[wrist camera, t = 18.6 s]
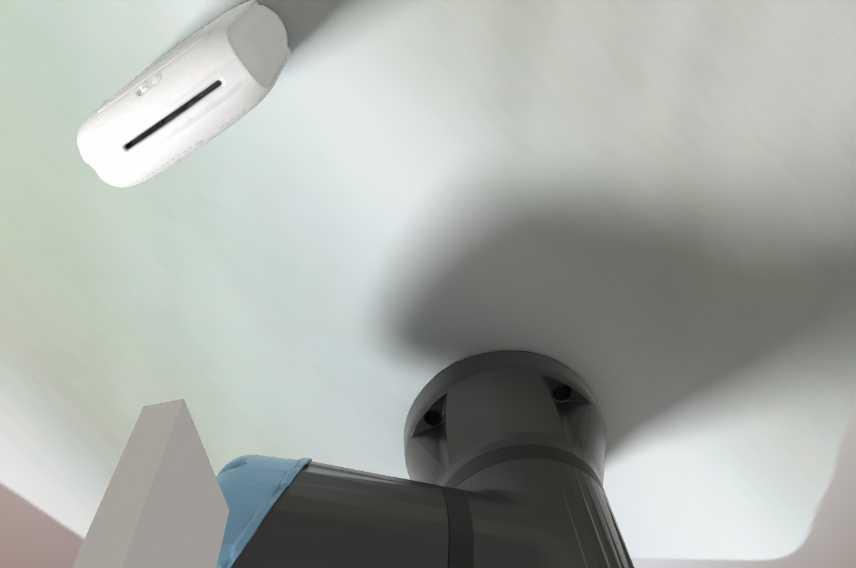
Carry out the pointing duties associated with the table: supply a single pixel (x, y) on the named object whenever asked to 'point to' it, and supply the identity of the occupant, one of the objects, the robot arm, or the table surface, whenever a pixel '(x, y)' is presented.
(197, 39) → the photo printer
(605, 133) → the table surface
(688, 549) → the table surface
